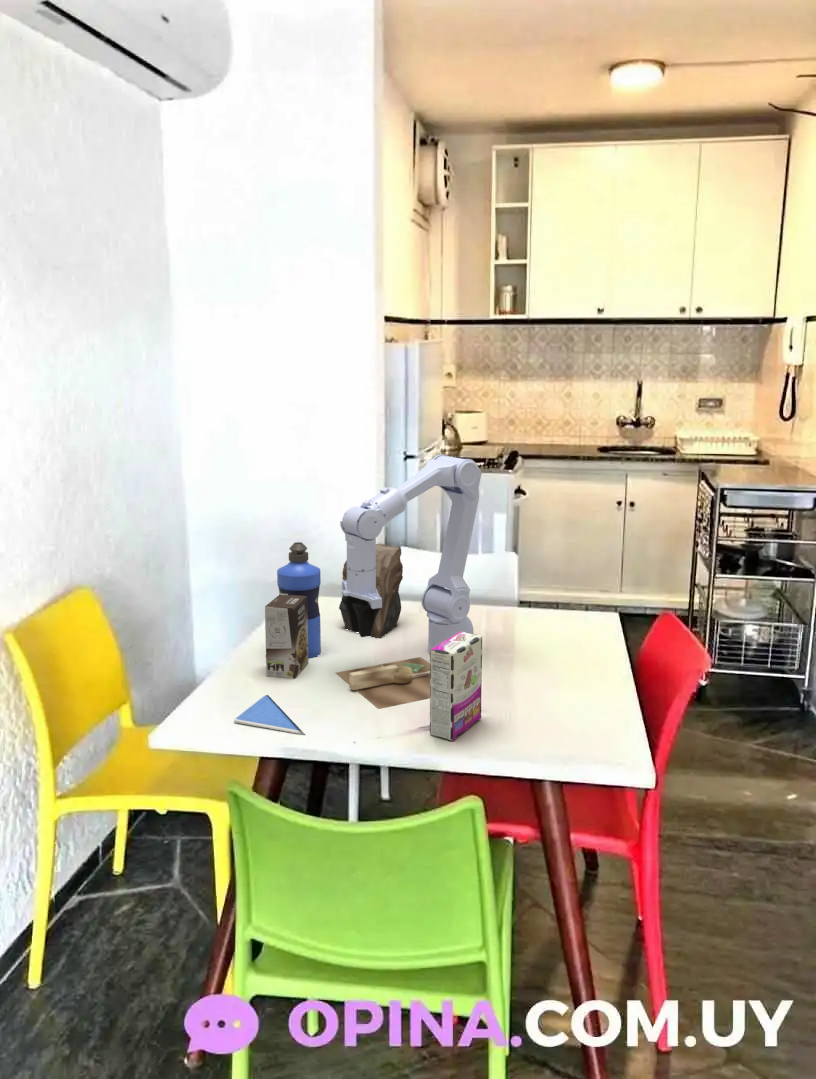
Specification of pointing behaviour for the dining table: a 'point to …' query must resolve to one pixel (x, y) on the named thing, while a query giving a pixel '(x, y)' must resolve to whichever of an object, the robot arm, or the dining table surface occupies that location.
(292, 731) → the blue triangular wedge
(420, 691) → the dial board
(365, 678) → the dial lever
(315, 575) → the water bottle
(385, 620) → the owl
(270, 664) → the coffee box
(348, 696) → the dining table surface
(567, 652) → the dining table surface
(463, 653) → the candy bar box
